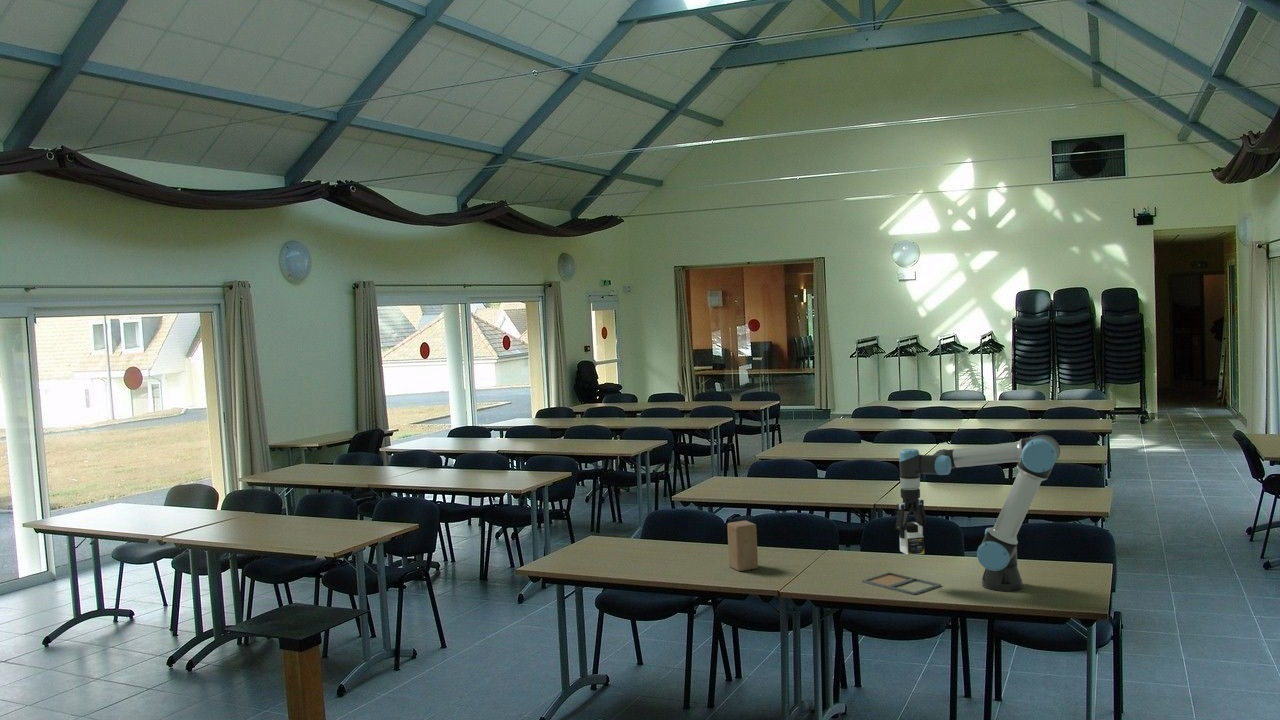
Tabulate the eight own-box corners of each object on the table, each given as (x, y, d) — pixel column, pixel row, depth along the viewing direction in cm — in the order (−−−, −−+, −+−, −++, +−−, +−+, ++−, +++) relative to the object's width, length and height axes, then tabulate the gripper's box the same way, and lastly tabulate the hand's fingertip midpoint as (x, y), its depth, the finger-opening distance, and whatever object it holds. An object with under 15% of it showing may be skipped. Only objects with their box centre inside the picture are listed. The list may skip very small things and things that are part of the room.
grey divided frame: (941, 586, 389) (941, 584, 389) (914, 595, 379) (914, 593, 379) (889, 574, 410) (889, 572, 410) (862, 582, 400) (862, 580, 400)
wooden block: (738, 572, 424) (736, 526, 423) (728, 567, 433) (726, 522, 432) (759, 569, 428) (757, 523, 427) (748, 563, 437) (746, 519, 436)
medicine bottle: (908, 555, 385) (907, 525, 384) (899, 551, 392) (898, 521, 391) (924, 553, 386) (923, 523, 386) (916, 549, 393) (915, 520, 393)
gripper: (919, 483, 397) (921, 537, 398) (884, 490, 384) (886, 547, 385) (935, 485, 391) (936, 540, 392) (900, 493, 378) (902, 550, 379)
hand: (911, 543), depth 389 cm, fingers closed on medicine bottle, 9 cm apart
